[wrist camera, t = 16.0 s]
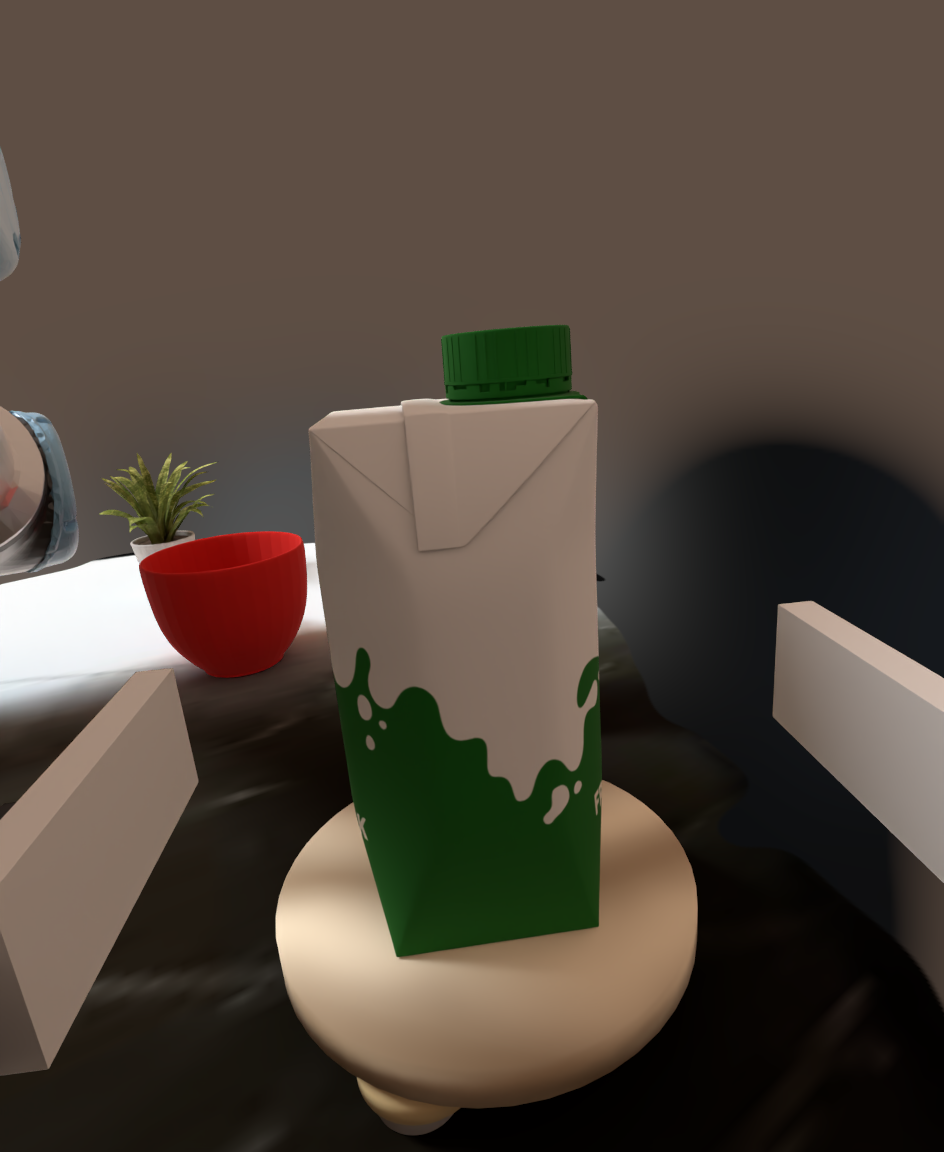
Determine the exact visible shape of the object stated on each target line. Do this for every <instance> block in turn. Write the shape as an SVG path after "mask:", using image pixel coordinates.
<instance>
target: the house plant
mask: <svg viewBox="0 0 944 1152" xmlns="http://www.w3.org/2000/svg"><path fill="white" fill-rule="evenodd" d="M137 458H138V463H139V466H140V470H141V474H142V476H141V475H140V474H139V473H138V472H137V470H136V469H134V468H132V467H129V470H124V469H122V470H123V471H126V472H128V473H129V474H130V476H131V479H132V481H130V480H129V479H127V478H124V477H114V478H113V477H112V479H114V480H115V482H116V483H117V484H118V485H117V484H116V483H114V482H112V481H109V480H106V479H104V478H102V479H103V480H104V481H106V482H107V483H109V484H111V485H112V487H113V488H112V487H111V486H109V485H108V486H109V487H111V488H112V489H113V490H114V491H115V492H116V493H118V494H119V495H120V496H122V495H123V496H124V497H123V496H122V497H123V498H124V499H125V500H127V502H128V503H129V504H130V505H131V506H132V507H133V508H134V509H135V511H136V512H137V515H138V516H139V517H140V518H134V517H132V516H131V515H129V514H127V513H124V512H121V511H118V510H107V511H104V512H102V513H100V514H109V515H116V516H121V517H125V518H127V519H128V520H129V523H130V532H131V530H132V529H134V528H136V527H139V528H141V529H142V530H143V531H144V532H145V533H146V534H147V536H143V537H140V538H137V539H135V540H133V541H132V542H131V546H132V548H133V551H134V553H135V555H136V557H137V560H138V562H139V564H140V563H141V561H142V560H143V559H145V558H146V557H147V556H149V555H151V554H153V553H155V552H158V551H160V550H163V549H165V548H169V547H172V546H175V545H178V544H182V543H186V542H190V541H194V540H195V534H194V532H192V531H177V529H178V528H179V526H180V525H181V523H182V522H183V520H184V519H185V517H186V516H187V514H188V513H189V512H190V511H194V512H198V513H199V514H201V515H202V513H201V511H200V510H198V509H196V508H197V507H199V506H204V505H206V506H207V504H206V503H204V502H202V501H200V500H201V499H202V498H204V497H206V496H210V495H206V496H203V497H201V498H199V499H198V500H197V501H186V502H183V503H181V504H180V505H179V506H177V503H178V501H179V499H180V498H181V497H182V496H184V495H185V494H187V493H189V492H191V491H192V490H194V489H196V488H198V487H200V486H202V485H205V484H208V483H211V482H213V481H215V480H212V481H207V482H202V483H198V484H195V485H191V486H189V487H186V486H187V484H188V483H189V482H190V481H191V480H192V479H193V478H194V477H195V476H197V475H198V474H202V473H205V472H201V473H197V474H195V475H193V476H192V477H191V478H190V479H189V480H188V481H187V482H186V483H185V485H184V487H183V488H182V489H181V490H179V491H177V489H178V488H179V486H180V485H181V484H182V483H183V481H184V480H185V479H186V478H187V477H189V476H190V475H191V474H192V473H193V472H195V471H197V470H198V469H200V468H202V467H205V466H207V465H205V466H202V467H200V468H197V469H196V470H194V471H192V472H191V473H190V474H188V475H187V476H186V477H185V478H184V479H183V480H182V481H181V483H180V484H179V486H178V487H177V489H176V490H175V492H176V491H177V492H176V493H175V492H174V489H175V487H176V484H177V482H178V481H179V479H180V476H181V470H182V469H185V468H186V467H185V468H183V467H184V465H185V464H186V463H187V462H184V463H183V464H181V465H179V466H178V467H177V468H176V469H175V470H174V471H173V473H172V475H171V476H170V478H169V480H168V482H167V483H166V481H167V477H168V472H169V465H170V461H171V454H170V455H169V456H168V458H167V460H166V461H165V464H164V466H163V468H162V470H161V472H160V474H159V477H158V481H157V485H156V491H155V489H154V486H153V482H152V479H151V476H150V474H149V472H148V470H147V468H146V467H145V465H144V463H143V461H142V459H141V457H140V456H139V455H138V454H137ZM212 464H213V463H212ZM208 465H211V464H208ZM187 468H189V467H187ZM120 470H121V469H120ZM117 479H118V480H119V481H120V482H121V483H123V484H124V485H125V486H126V487H127V488H128V489H129V490H130V491H131V493H132V494H133V495H134V497H135V498H136V500H137V501H138V502H137V501H136V500H135V498H134V497H133V496H132V495H131V493H130V492H129V491H128V490H127V489H126V488H125V487H124V486H123V485H122V484H121V483H120V482H119V481H118V480H117ZM185 487H186V488H185ZM116 490H117V491H118V492H117V491H116ZM173 492H174V493H173ZM121 494H122V495H121ZM175 502H176V504H175ZM190 502H195V503H194V504H193V505H191V506H189V507H185V508H184V509H182V510H181V511H180V509H181V508H182V507H183V506H184V505H186V504H187V503H190ZM198 502H200V503H203V504H197V503H198ZM174 505H175V507H174ZM176 506H177V508H176ZM173 507H174V509H173ZM175 508H176V509H175ZM172 510H173V512H172ZM179 512H180V514H179V515H178V516H177V518H176V520H175V522H174V519H175V517H176V515H177V514H178V513H179ZM171 513H172V514H171ZM184 515H185V516H184ZM183 516H184V517H183ZM181 519H182V520H181ZM180 520H181V521H180ZM173 522H174V524H173ZM179 522H180V523H179ZM132 523H135V524H137V525H138V526H131V524H132ZM178 523H179V525H178ZM177 525H178V526H177ZM176 527H177V528H176ZM175 528H176V529H175Z"/></svg>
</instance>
